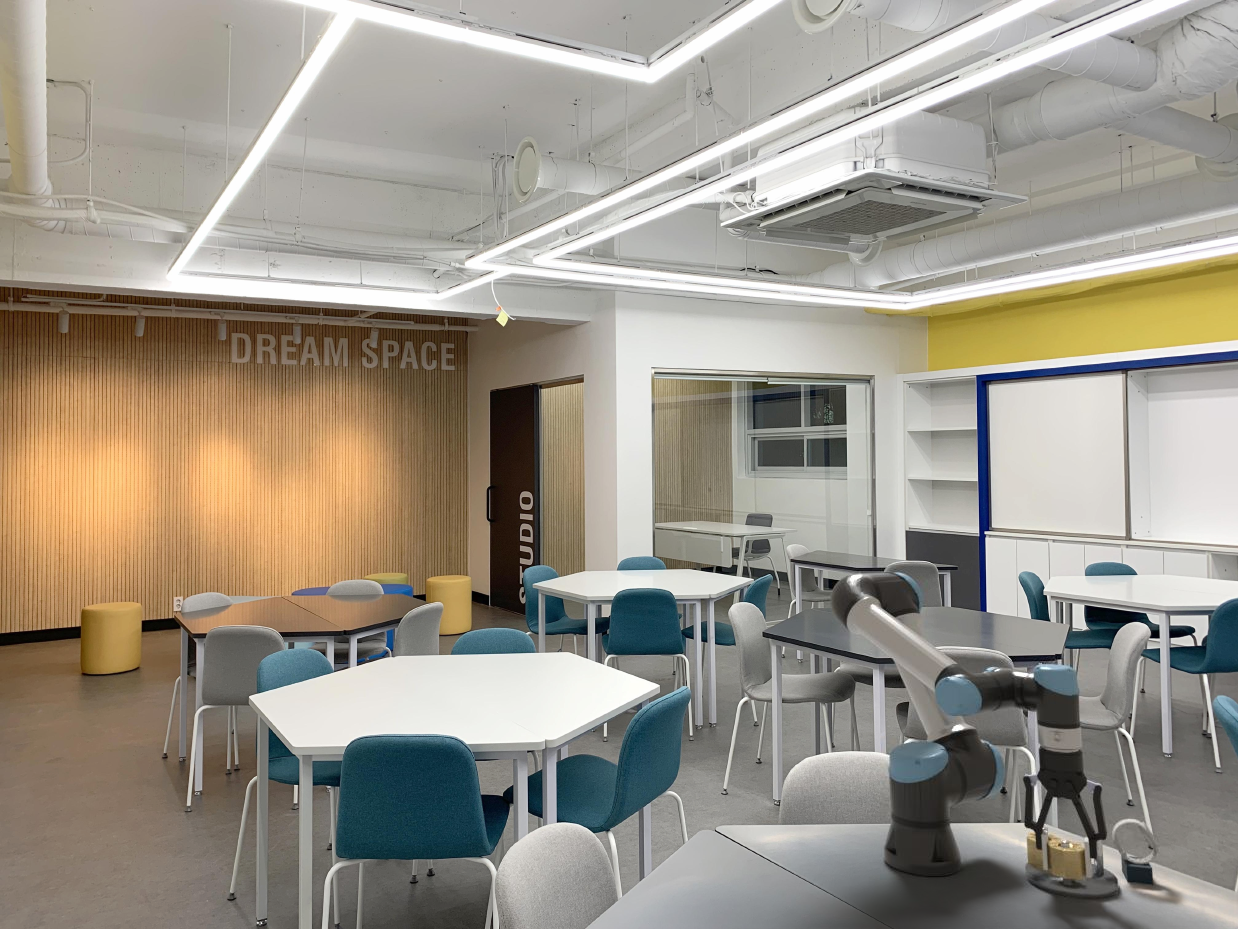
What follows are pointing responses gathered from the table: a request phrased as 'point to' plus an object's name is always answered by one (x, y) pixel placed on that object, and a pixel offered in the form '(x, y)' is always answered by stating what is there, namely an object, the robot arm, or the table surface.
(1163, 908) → the table surface
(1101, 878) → the carrier
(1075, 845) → the planet gear
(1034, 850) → the planet gear
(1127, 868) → the watch
